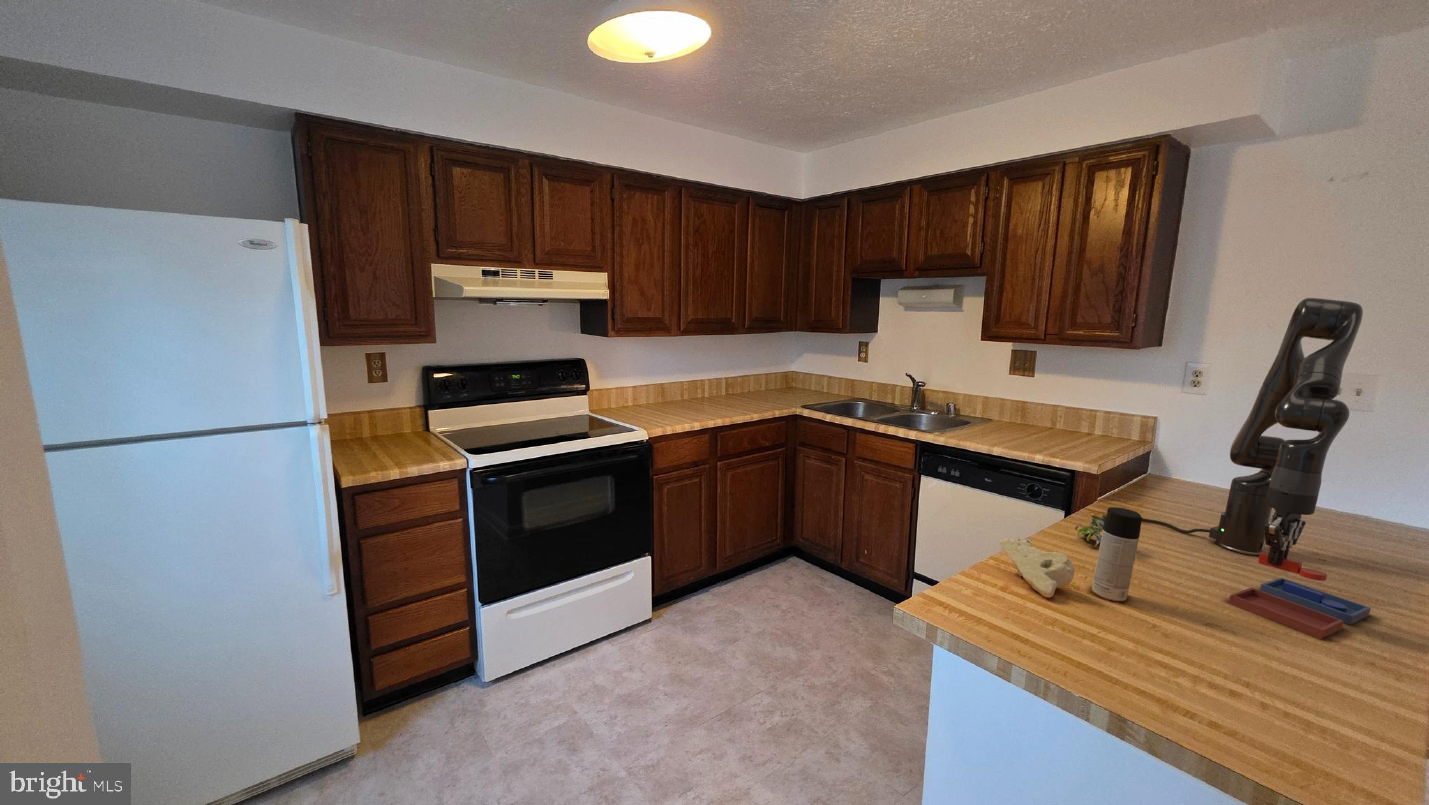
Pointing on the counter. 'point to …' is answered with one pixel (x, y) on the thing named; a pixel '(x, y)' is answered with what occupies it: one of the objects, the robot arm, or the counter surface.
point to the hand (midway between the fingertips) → (1276, 563)
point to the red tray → (1286, 612)
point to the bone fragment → (1039, 566)
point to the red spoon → (1294, 568)
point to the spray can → (1117, 554)
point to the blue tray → (1350, 617)
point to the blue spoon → (1312, 596)
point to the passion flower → (1090, 530)
